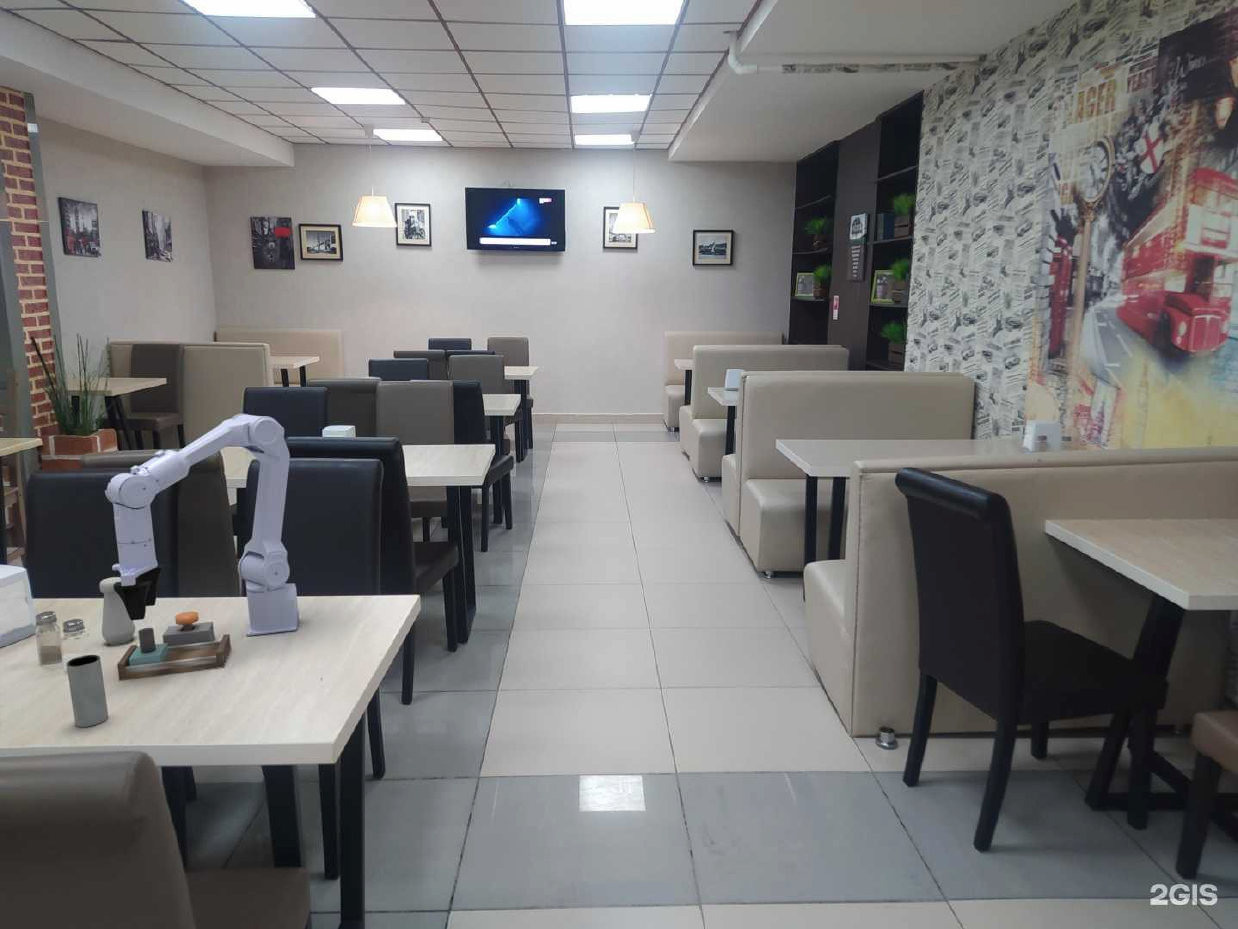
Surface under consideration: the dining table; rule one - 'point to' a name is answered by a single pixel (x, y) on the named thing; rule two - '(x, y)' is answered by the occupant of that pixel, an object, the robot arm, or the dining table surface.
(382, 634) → the dining table surface
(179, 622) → the button
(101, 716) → the planter
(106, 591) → the salt shaker
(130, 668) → the rail board
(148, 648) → the blue block with peg
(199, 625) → the grey rectangular block
